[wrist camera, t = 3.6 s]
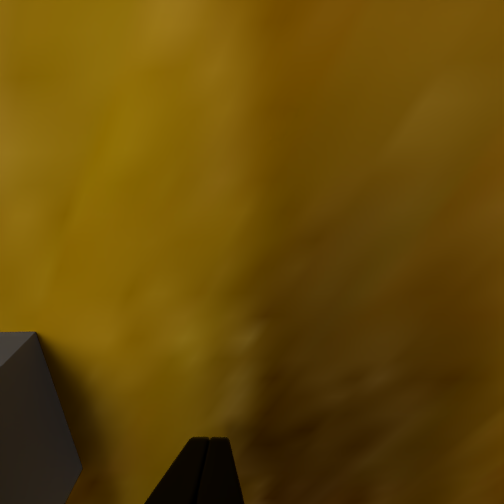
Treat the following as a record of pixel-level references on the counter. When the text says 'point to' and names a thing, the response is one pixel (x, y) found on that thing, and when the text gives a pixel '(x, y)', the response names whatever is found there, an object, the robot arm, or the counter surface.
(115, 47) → the counter surface
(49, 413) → the plug
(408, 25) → the counter surface
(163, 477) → the robot arm
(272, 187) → the counter surface
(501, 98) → the counter surface
